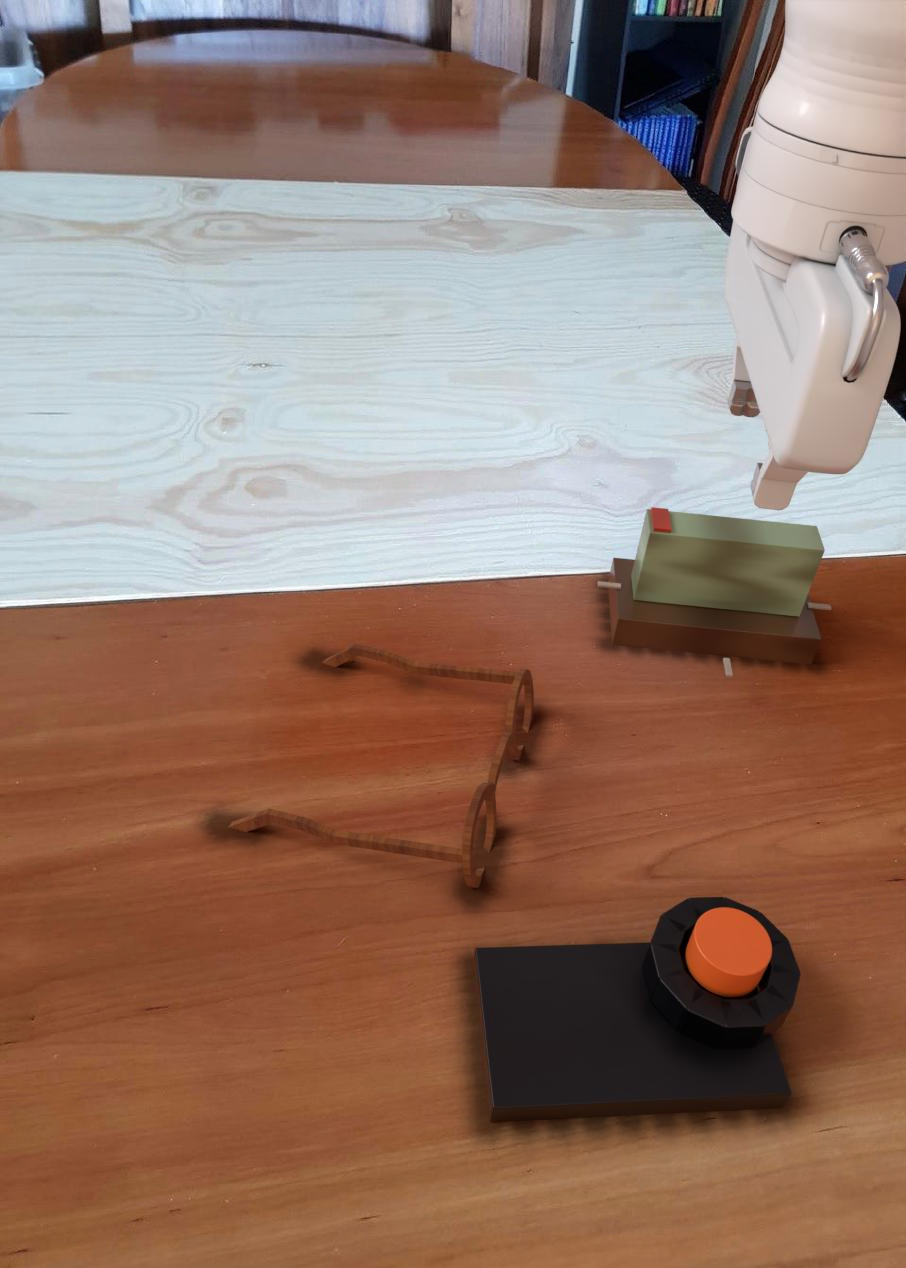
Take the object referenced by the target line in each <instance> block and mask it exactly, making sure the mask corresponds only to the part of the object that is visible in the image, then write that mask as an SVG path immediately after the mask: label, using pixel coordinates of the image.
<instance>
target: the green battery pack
mask: <svg viewBox="0 0 906 1268" xmlns="http://www.w3.org/2000/svg"><path fill="white" fill-rule="evenodd" d="M821 537H822V536H821V534H820V531H819V528H818V526H817V525H811V524H800V523H791V522H780V521H770V520H762V519H761V520H760V519H751V518H743V517H741V518H740V517H731V516H723V515H721V516H720V515H713V514H703V513H702V514H701V513H692V512H682V511H672V510H669V508H664V507H655V506H654V507H653V506H652V507H650V508H647V509H646V511H645V516H644V519H643V523H642V528H641V532H640V537H639V541H638V545H637V550H636V554H635V557H634V560H635V562H634V566H633V570H632V574H631V579H632V589H633V599H634V600H639V601H649V602H659V603H669V604H679V605H689V606H698V607H708V608H718V609H728V610H738V611H748V612H758V613H768V614H778V615H788V616H797V617H799V616H800V614H801V611H802V609H803V606H804V603H805V601H806V598H807V595H808V596H809V592H810V590H811V588H812V585H813V582H814V580H815V577H816V574H817V572H818V570H819V566H820V563H822V562H821V561H822V559H823V556H824V553H825V551H826V550H825V546H824V544H823V540H822V538H821Z"/></svg>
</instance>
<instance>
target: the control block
mask: <svg viewBox="0 0 906 1268" xmlns="http://www.w3.org/2000/svg"><path fill="white" fill-rule="evenodd" d="M721 907H728V908H734V909H738V910H740V911H743V912H745V913H747V914H749V915H751V916H752V917H753V918H755V919H756V920H757V921H758V922H759V923H760V924H761V925H762V926H763V927H764V929H765V930H766V931H767V933H768V935H769V937H770V940H771V944H772V956H771V959H770V962H769V964H768V966H767V968H766V970H765V972H764V974H763V976H762V978H761V980H760V982H759V984H758V986H757V987H756V988H755V989H754V990H753V991H752V992H750V993H748V994H746V995H744V996H740V997H724V996H720V995H717V994H714V993H712V992H710V991H708V990H707V989H705V988H704V987H702V986H701V985H700V984H699V983H698V982H697V981H696V980H695V979H694V977H693V976H692V975H691V973H690V971H689V969H688V966H687V963H686V957H685V953H686V947H687V945H688V942H689V940H690V937H691V935H692V932H693V930H694V927H695V925H696V922H697V920H698V919H699V918H700V917H701V916H702V915H703V914H704V913H705V912H707V911H709V910H711V909H715V908H721ZM650 939H651V940H650V941H649V942H621V943H618V942H617V943H589V944H588V943H587V944H557V945H555V944H554V945H553V944H552V945H526V946H524V945H523V946H520V945H519V946H491V947H475V948H474V953H473V960H472V970H473V971H472V972H473V980H474V990H475V998H476V999H475V1000H476V1008H477V1017H478V1027H479V1036H480V1045H481V1046H480V1047H481V1054H482V1064H483V1073H484V1074H483V1075H484V1084H485V1092H486V1102H487V1111H488V1121H489V1123H506V1122H508V1123H509V1122H528V1121H529V1122H530V1121H548V1120H549V1121H550V1120H551V1121H552V1120H570V1119H589V1118H590V1119H591V1118H592V1119H593V1118H608V1117H611V1118H612V1117H628V1116H631V1117H632V1116H651V1115H653V1116H654V1115H670V1114H671V1115H672V1114H692V1113H693V1114H694V1113H710V1112H729V1111H731V1112H732V1111H752V1110H753V1111H754V1110H773V1109H783V1108H784V1107H785V1105H786V1104H787V1102H788V1100H789V1098H790V1097H791V1096H792V1091H791V1088H790V1085H789V1082H788V1078H787V1076H786V1075H787V1074H786V1072H785V1069H784V1065H783V1063H782V1060H781V1056H780V1054H779V1050H778V1048H777V1044H776V1041H775V1039H774V1035H773V1034H774V1033H775V1032H777V1031H778V1030H779V1029H781V1028H782V1026H783V1025H784V1022H785V1021H786V1019H787V1017H788V1015H789V1014H790V1012H791V1010H792V1008H793V1007H794V1004H795V1000H796V995H797V992H798V987H799V983H800V980H801V975H802V974H801V971H800V967H799V964H798V962H797V959H796V956H795V953H794V951H793V948H792V945H791V942H790V940H789V939H788V937H787V936H786V935H785V934H784V933H783V932H782V931H781V930H780V929H778V927H777V926H776V925H775V924H774V923H773V922H772V921H771V920H770V919H769V918H768V917H766V915H764V913H762V911H760V910H757V909H755V908H752V907H750V906H748V905H745V904H743V903H740V902H739V901H736V900H733V899H731V898H728V897H726V896H725V897H724V896H701V897H700V896H699V897H694V896H693V897H689V898H685V899H684V900H682V901H681V902H679V903H677V904H676V905H674V906H672V907H671V908H670V909H668V910H666V911H664V912H663V913H662V914H660V917H659V919H658V921H657V924H656V926H655V929H654V932H653V934H652V937H651V938H650ZM758 987H759V989H758Z"/></svg>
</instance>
